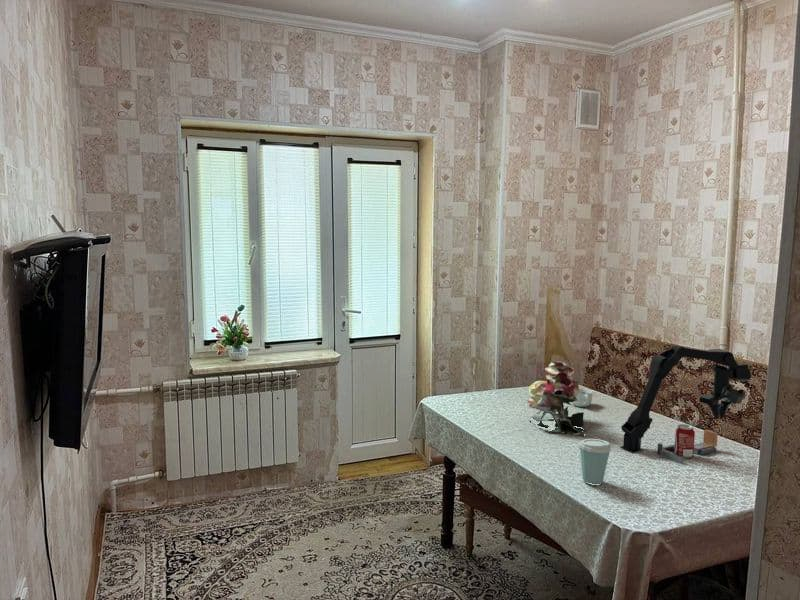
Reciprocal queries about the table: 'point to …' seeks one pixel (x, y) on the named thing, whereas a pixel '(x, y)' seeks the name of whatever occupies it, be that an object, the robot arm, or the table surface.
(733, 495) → the table surface
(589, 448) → the disposable coffee cup
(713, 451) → the ram guide
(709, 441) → the brown boxy piece
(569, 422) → the rose bouquet
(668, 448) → the press fence
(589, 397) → the teacup
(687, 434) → the soda can
